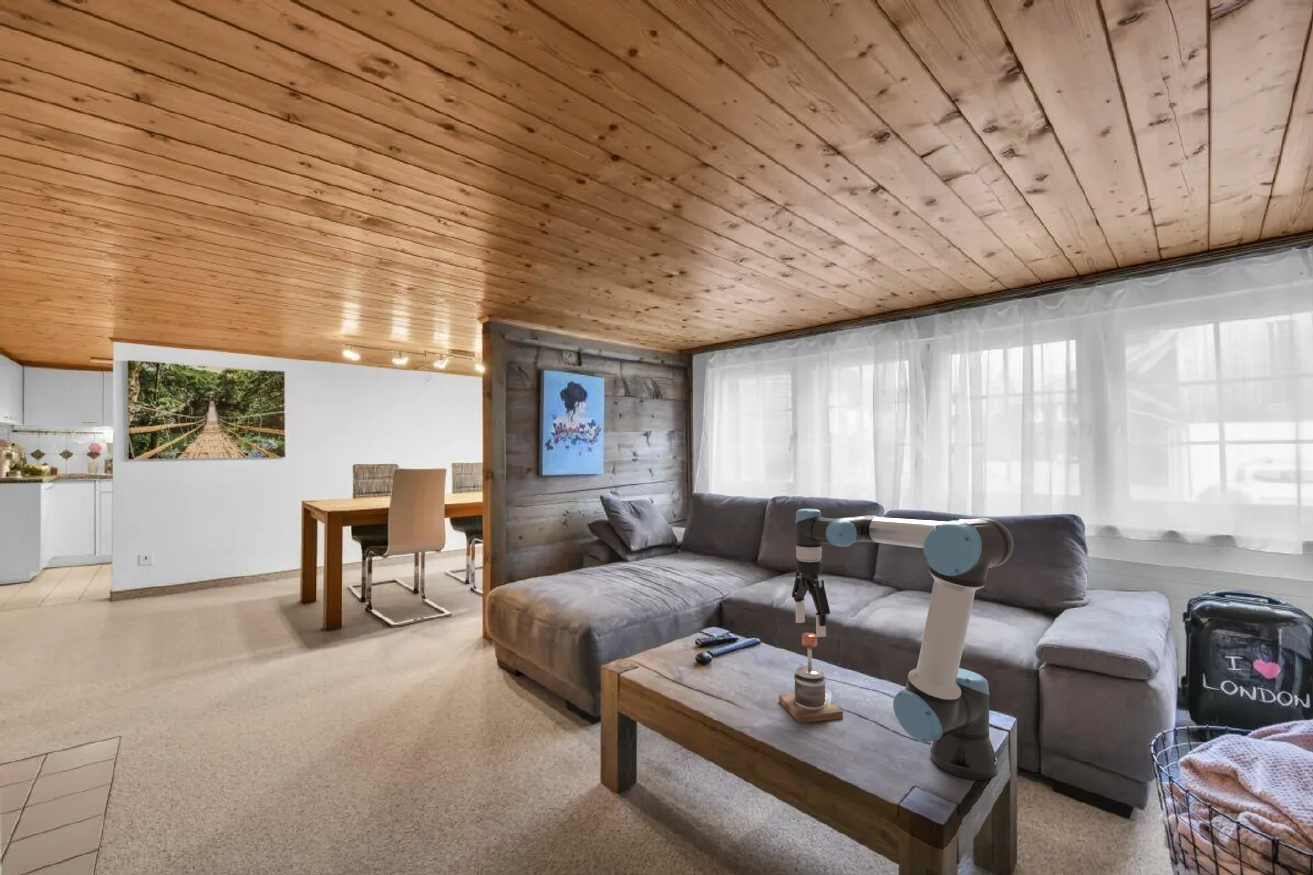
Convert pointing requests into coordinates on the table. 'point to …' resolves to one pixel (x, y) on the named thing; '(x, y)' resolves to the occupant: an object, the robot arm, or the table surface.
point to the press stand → (809, 701)
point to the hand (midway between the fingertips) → (810, 629)
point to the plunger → (809, 658)
